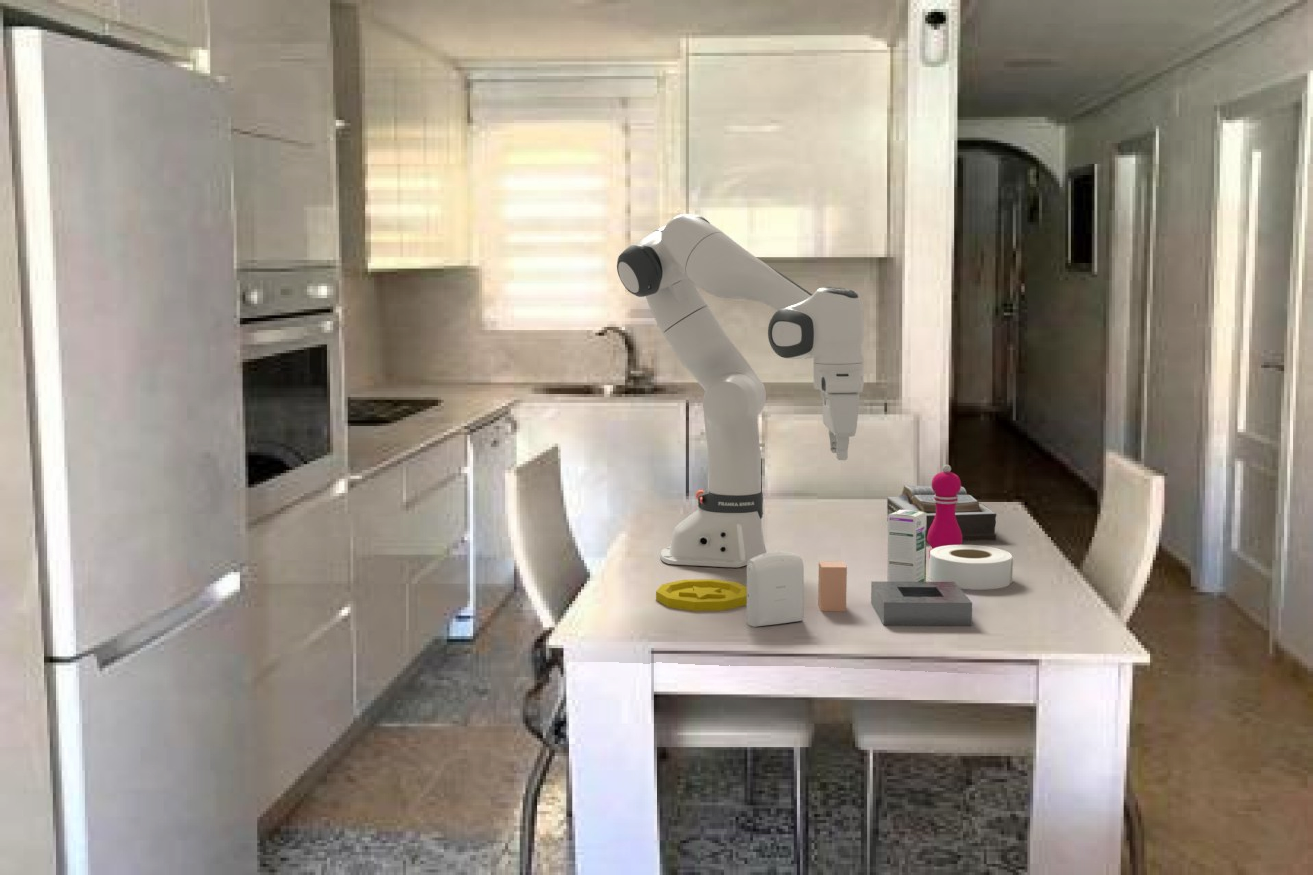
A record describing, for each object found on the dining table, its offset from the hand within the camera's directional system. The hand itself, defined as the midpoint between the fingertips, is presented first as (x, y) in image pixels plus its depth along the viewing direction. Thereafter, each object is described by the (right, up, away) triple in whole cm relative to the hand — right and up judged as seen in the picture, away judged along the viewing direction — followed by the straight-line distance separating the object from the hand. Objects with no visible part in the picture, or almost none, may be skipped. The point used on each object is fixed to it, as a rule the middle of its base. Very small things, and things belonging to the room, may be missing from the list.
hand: (838, 456), depth 237 cm
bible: (+33, -19, +70) cm, 80 cm away
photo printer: (-12, -29, -9) cm, 32 cm away
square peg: (-1, -27, +1) cm, 27 cm away
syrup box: (+15, -26, +17) cm, 34 cm away
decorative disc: (-24, -27, +7) cm, 37 cm away
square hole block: (+14, -28, -3) cm, 31 cm away
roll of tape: (+29, -25, +22) cm, 44 cm away
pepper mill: (+28, -22, +40) cm, 54 cm away
